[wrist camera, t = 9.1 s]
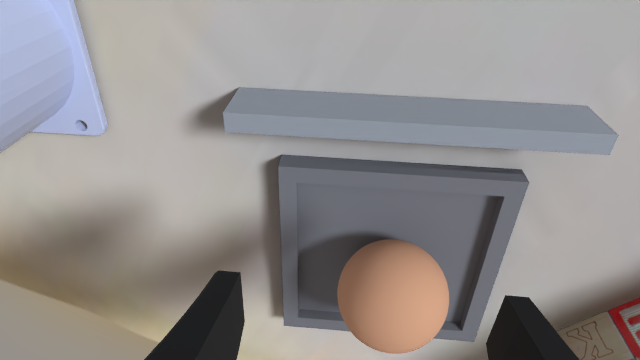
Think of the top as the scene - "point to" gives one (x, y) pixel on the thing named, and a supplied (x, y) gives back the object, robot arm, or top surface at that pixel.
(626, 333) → the stack of blocks
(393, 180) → the tray
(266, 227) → the top surface
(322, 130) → the low wall
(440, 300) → the ball
